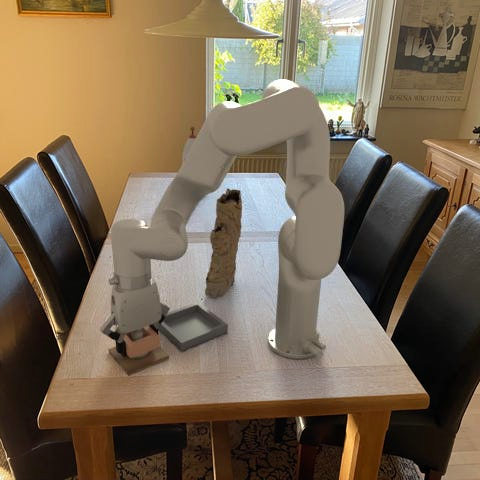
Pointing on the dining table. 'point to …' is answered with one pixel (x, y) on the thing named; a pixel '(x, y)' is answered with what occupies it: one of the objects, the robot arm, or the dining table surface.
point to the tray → (192, 326)
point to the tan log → (224, 243)
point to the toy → (188, 144)
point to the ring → (141, 342)
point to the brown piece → (139, 357)
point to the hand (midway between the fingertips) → (138, 347)
